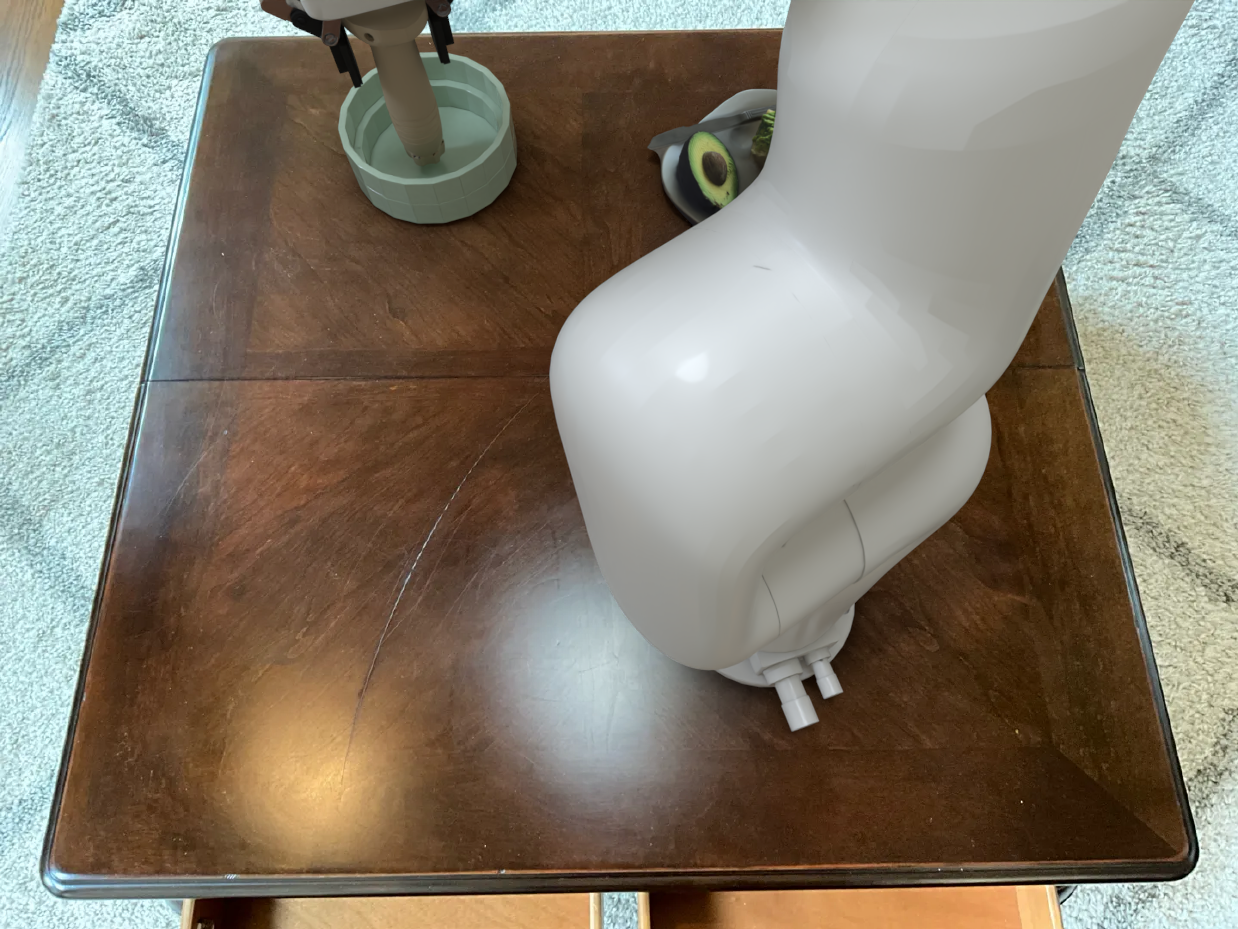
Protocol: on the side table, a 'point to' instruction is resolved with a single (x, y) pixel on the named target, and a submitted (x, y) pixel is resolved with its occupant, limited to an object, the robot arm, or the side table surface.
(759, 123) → the avocado toast plate
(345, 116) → the bowl
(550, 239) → the side table surface
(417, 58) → the handle
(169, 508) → the side table surface
